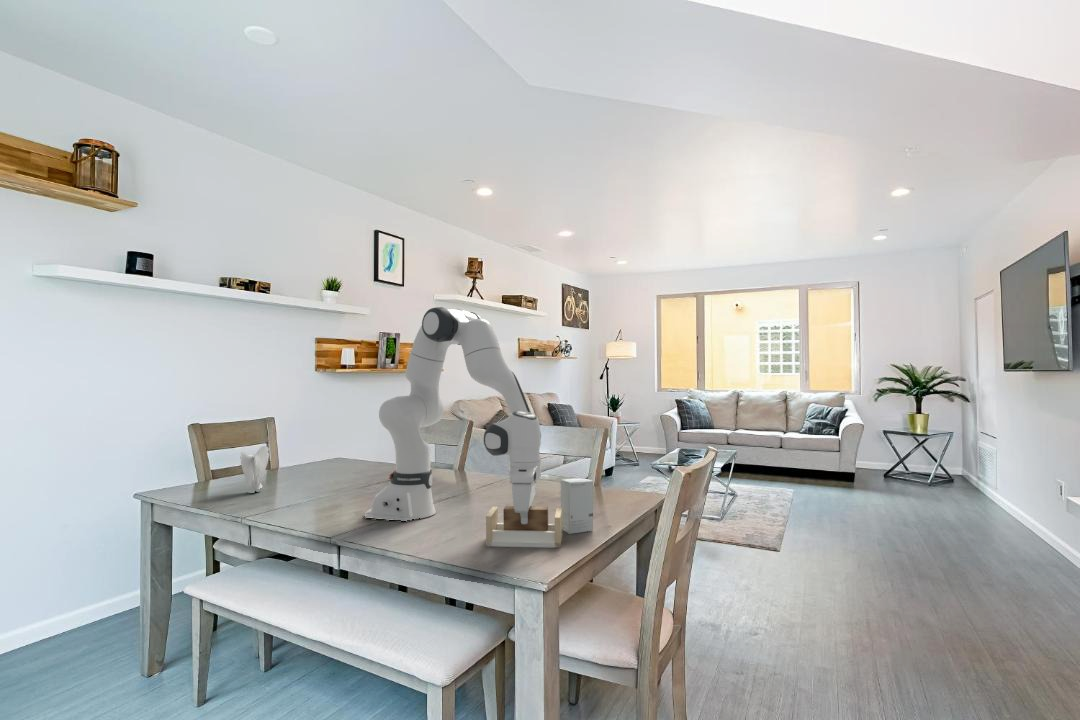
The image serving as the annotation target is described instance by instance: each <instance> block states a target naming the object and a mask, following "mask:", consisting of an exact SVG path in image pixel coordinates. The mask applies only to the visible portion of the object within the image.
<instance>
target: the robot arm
mask: <svg viewBox="0 0 1080 720" xmlns="http://www.w3.org/2000/svg"><path fill="white" fill-rule="evenodd" d="M418 329H419V330H418V332H417V333H416V334H415V338H414V340H413V344H412V347H411V350H410V354H409V357H408V358H409V359H408V361H407V366H406V370H405V377H406V379H407V380H408V381H409V383H410V394H409V395H401V396H395V397H392V398H390V399H387V400H385V401H384V402H383V403H382V404H381V405H380V407H379V411H378V418H379V421H380V425H382V427H384V428H385V429H386V430H387V431H388V432H389V434H390V436H391V438H392V441H393V445H394V449H395V450H394V451H395V470H393V471H392V473H391V474H389V475H388V479H389V480H390V483H389V484H387V485H386V486H385V487H384V488H382V489H381V490H380V491H379V492H378V493H376V495H375V496H374V497H373V500H372V503H371V507H370V508H369V509H368V510H366V511H365V513H364V516H365V517H373V518H382V519H393V520H401V521H406V522H408V521H407V520H410V521H413V520H412V519H414V520H419V518H420V519H425V518H429V517H431V516H433V515H435V514H436V508H435V505H434V500H433V494H432V485H433V473H432V472H433V471H432V469H431V447H430V444H429V443H427V442H426V441H425V440H424V438H423V435H422V432H421V428H425V427H426V428H427V427H430V426H432V425H434V424H436V423H439V422H440V421H441V420H442V418H443V417H444V415H445V405H444V402H443V401H442V399H441V398H440V386H439V385H440V381H441V375H442V370H443V367H444V362H445V359H446V354H447V352H448V349H449V347H450V346H451V345H458V346H461V348H462V351H463V357H464V360H465V365H466V366H465V367H466V370H467V372H468V374H469V376H470V377H471V379H473V380H474V381H475V382H477V383H478V384H480V385H483V386H486V387H488V388H491V389H493V390H495V391H496V392H498V393H499V394H500V395H501V396H502V398H503V399H504V401H505V403H506V406H507V408H508V410H509V414H510V415H509V416H508V417H506V418H505V419H503V420H502V419H501V420H500V421H498V422H494V423H491V424H489V425H488V426H487V427H486V429H485V431H484V434H483V444H484V448H485V449H486V451H487V452H488V454H490V455H491V456H496V457H504V456H505V457H506V456H508V457H509V458H508V472H509V473H508V475H509V483H510V484H511V490H512V493H511V494H512V506H514V511H515V512H516V513H520V516H521V524H527V523H528V511H529V508H530V506H532V503H533V501H534V498H535V496H536V484H537V483H538V482H537V480H538V479H539V478H541V477H542V459H541V458H542V457H541V455H540V448H541V444H542V432H541V426H540V420H539V418H538V416H537V415H536V414H535V413H533V412H531V409H530V407H529V405H528V402H527V399H526V396H525V395H524V392H523V389H522V388H521V384H520V382H519V380H518V378H517V375H516V374H515V373H514V371H512V370H511V369H510V367H509V366H508V365H507V362H506V361H505V359H504V357H503V353H502V351H501V346H500V343H499V340H498V338H497V335H496V333H495V331H494V328H493V326H492V324H491V323H490V322H489V321H488V320H487V319H484V318H483V317H482V316H480V315H479V314H477V313H475V312H473V311H467V310H464V309H460V308H448V307H443V306H440V307H439V306H438V307H431V308H430V309H428V310H427V311H426V312H425V313H424V315H423V318H422V320H421V326H420V327H419V328H418ZM365 517H364V518H365ZM401 521H400V522H401Z"/></svg>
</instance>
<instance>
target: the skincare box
mask: <svg viewBox="0 0 1080 720" xmlns="http://www.w3.org/2000/svg"><path fill="white" fill-rule="evenodd" d="M560 508H562V531H563V532H565V533H566V534H567V535H575V534H580V533H586V532H587V531H588V532H593V531H594V480H592V479H588V478H585V477H580V478H579V477H577V478H565V479H560Z"/></svg>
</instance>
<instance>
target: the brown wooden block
mask: <svg viewBox="0 0 1080 720" xmlns="http://www.w3.org/2000/svg"><path fill="white" fill-rule="evenodd" d="M503 523H504V530H517V531H548V524H549V506H548V505H546V506H545V505H541V506H540V505H534V506H533V505H531V506H530V508H529V511H528V523H527V524H521V516H520V513H516V512H515V511H514V506H513V505H505V506H504V507H503Z"/></svg>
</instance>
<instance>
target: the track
mask: <svg viewBox="0 0 1080 720" xmlns="http://www.w3.org/2000/svg"><path fill="white" fill-rule="evenodd" d="M498 509H499V507H498V506H492V507H491V508H490V510H489V511H488V512H487V514H486V516H485V530H486V531H485V544H486V545H485V546H486V547H502V548H503V547H507V548H508V547H513V548H545V549H546V548H550V549H551V548H552V549H554V548H555V549H556V548H557V549H559V548H560V549H561V547H562V541H563V530H562V508H561V507H556V509H555V510H556V511H555V515H554V523H548V531H517V530H504V522H499V510H498Z"/></svg>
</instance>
